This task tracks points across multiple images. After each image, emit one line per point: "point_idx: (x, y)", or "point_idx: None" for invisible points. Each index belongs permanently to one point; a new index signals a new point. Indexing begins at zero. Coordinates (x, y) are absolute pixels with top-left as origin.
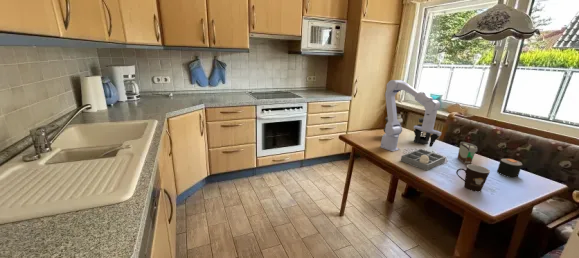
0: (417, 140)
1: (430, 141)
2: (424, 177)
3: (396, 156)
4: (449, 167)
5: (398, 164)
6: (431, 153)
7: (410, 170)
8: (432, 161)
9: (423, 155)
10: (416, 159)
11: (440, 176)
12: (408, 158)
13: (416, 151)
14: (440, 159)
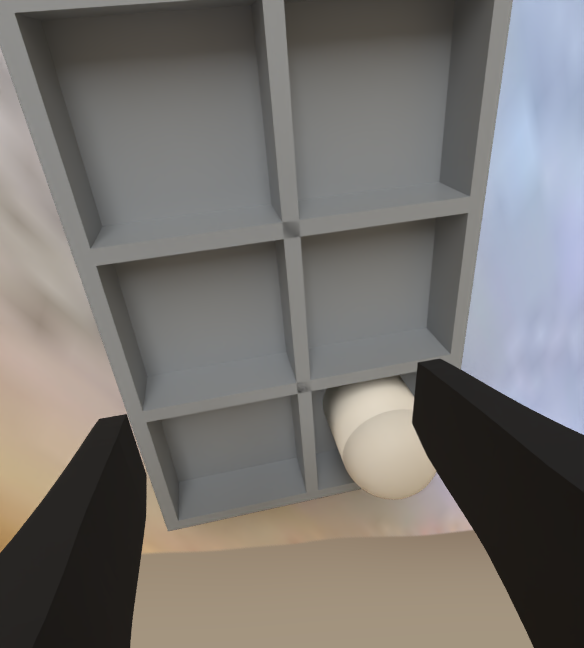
0: (141, 521)
1: (486, 540)
2: (457, 512)
3: (48, 445)
4: (554, 132)
5: (226, 536)
6: (285, 56)
7: (346, 524)
8: (444, 359)
9: (395, 497)
10: (315, 468)
11: None
12: (251, 509)
13: (103, 246)
14: (484, 183)
